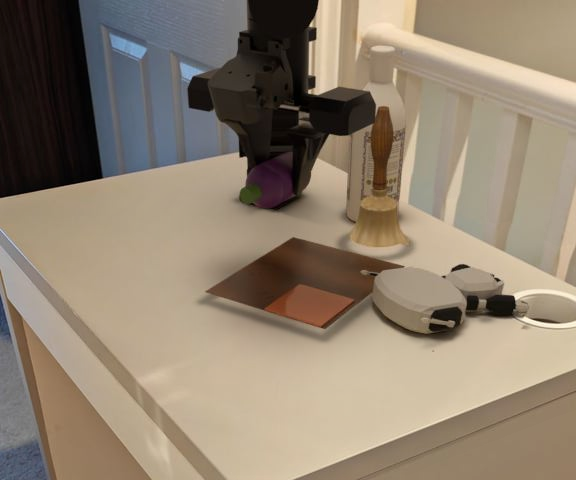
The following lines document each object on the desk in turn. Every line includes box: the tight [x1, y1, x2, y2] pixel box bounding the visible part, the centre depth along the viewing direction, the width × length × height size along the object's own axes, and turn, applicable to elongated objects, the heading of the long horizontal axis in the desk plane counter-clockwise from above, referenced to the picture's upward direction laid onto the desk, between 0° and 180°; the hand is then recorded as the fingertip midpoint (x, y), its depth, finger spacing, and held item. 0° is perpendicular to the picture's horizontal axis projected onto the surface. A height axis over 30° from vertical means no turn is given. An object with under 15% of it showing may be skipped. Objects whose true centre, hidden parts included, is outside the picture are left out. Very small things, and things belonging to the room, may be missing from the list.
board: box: [204, 236, 405, 330], centre depth 94 cm, size 18×16×1 cm
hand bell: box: [348, 106, 410, 248], centre depth 98 cm, size 8×8×16 cm
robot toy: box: [360, 263, 530, 335], centre depth 88 cm, size 12×4×15 cm
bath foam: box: [345, 45, 407, 223], centre depth 104 cm, size 7×7×20 cm
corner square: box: [264, 284, 355, 328], centre depth 88 cm, size 7×7×1 cm
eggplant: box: [239, 152, 312, 209], centre depth 84 cm, size 10×4×4 cm, turn 146°
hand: (279, 190), depth 86 cm, fingers closed on eggplant, 4 cm apart
